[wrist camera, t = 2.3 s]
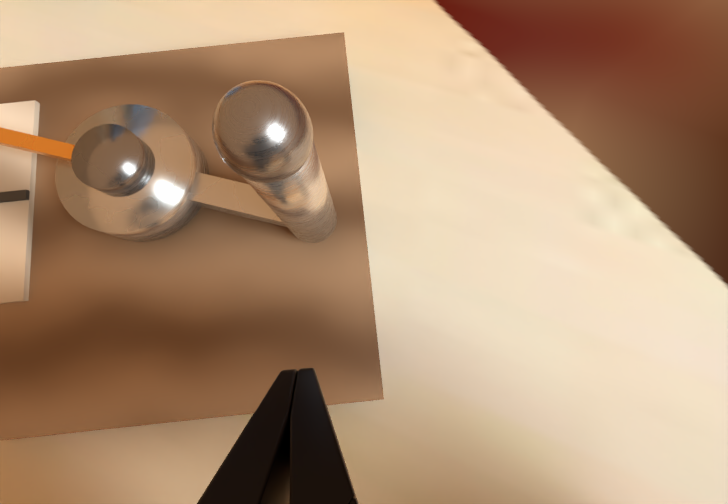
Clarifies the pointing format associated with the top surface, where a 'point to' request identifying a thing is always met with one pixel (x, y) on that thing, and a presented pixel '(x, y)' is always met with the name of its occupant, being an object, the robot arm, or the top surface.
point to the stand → (176, 257)
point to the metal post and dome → (191, 167)
